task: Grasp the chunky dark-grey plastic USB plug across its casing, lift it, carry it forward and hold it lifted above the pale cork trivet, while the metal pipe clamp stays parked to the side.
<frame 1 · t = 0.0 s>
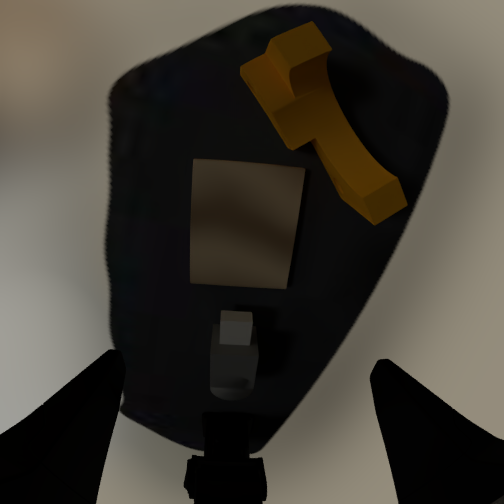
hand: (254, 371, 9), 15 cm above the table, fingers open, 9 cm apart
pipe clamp: (308, 128, 20), on the table
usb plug: (233, 334, 27), on the table
trivet: (243, 226, 22), on the table
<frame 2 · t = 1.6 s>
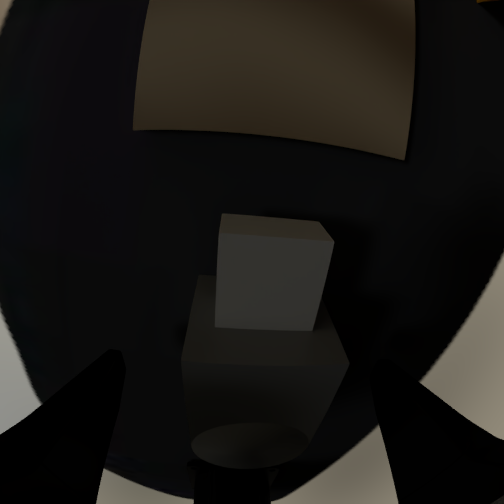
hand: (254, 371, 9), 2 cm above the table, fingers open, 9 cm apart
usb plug: (254, 304, 10), on the table
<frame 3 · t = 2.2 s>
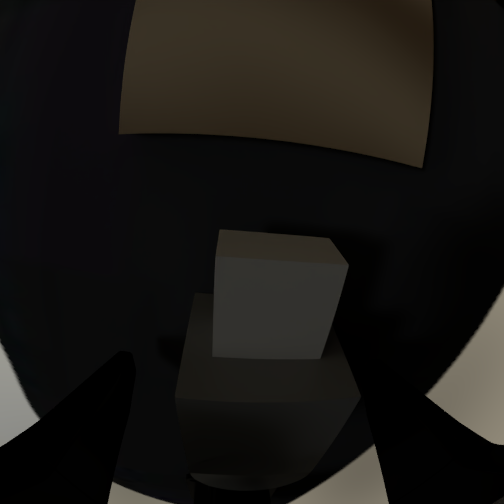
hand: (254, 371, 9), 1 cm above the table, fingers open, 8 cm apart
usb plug: (256, 324, 9), on the table
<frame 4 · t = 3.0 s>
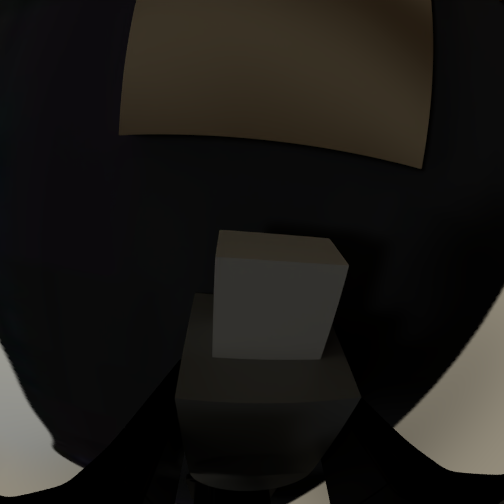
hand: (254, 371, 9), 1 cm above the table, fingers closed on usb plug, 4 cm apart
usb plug: (256, 324, 9), on the table, touching gripper
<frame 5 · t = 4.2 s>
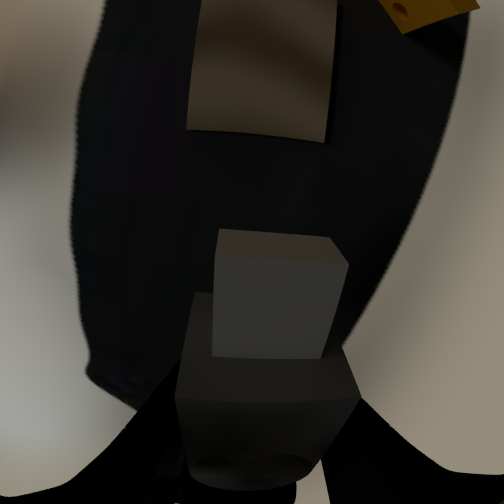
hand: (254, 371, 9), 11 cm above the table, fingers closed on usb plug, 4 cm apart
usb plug: (256, 323, 9), point 10 cm above the table, touching gripper
trivet: (264, 55, 14), on the table
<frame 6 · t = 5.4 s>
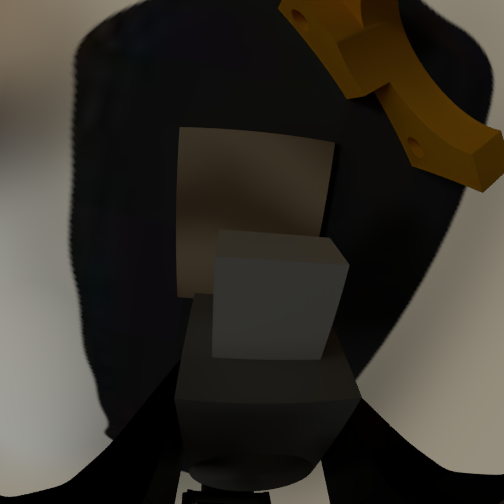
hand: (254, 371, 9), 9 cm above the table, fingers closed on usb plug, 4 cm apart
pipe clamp: (368, 76, 13), on the table
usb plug: (256, 324, 9), point 8 cm above the table, touching gripper
trivet: (249, 221, 16), on the table
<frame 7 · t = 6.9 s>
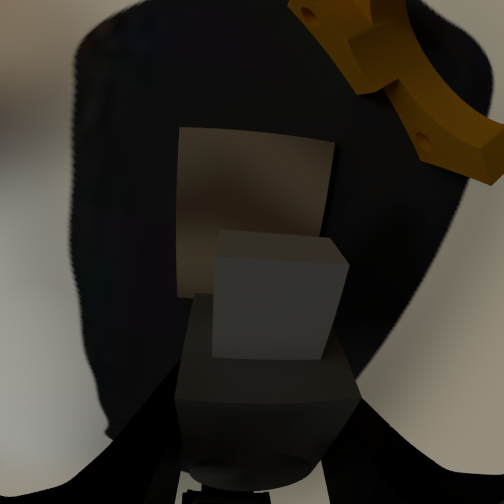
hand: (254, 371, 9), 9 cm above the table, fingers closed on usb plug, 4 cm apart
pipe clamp: (377, 73, 13), on the table
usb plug: (256, 324, 9), point 8 cm above the table, touching gripper
trivet: (249, 221, 16), on the table
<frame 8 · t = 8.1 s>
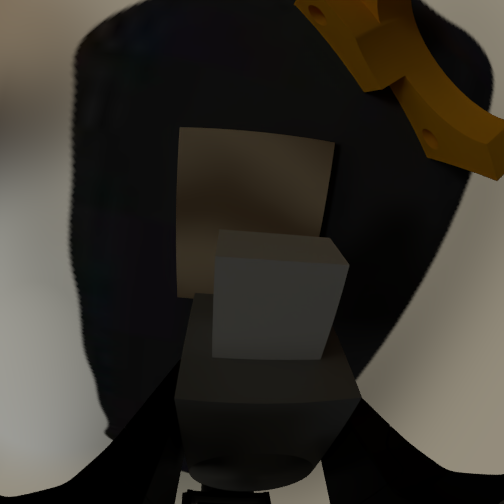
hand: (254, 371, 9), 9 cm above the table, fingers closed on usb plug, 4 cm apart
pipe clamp: (383, 70, 13), on the table
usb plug: (256, 324, 9), point 8 cm above the table, touching gripper
trivet: (249, 221, 16), on the table
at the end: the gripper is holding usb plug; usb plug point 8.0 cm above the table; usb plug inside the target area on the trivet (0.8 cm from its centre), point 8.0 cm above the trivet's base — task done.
